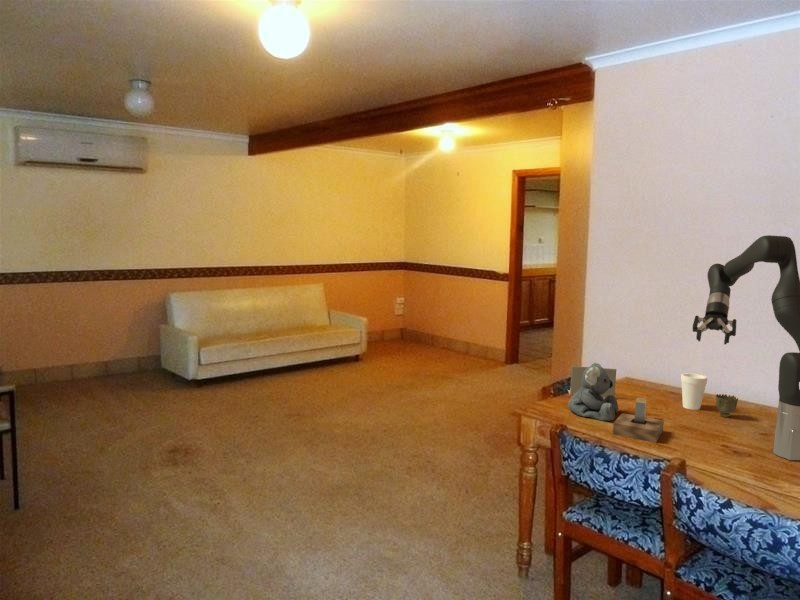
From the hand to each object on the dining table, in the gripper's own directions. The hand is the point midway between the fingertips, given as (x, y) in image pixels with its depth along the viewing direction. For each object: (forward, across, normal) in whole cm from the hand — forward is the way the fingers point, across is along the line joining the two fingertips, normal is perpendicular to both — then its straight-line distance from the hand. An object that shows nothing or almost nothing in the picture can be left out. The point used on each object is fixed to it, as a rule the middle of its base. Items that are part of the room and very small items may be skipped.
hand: (712, 341), depth 223 cm
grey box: (+10, -46, +34) cm, 58 cm away
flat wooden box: (+40, -18, +3) cm, 45 cm away
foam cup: (+7, -6, +36) cm, 38 cm away
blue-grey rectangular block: (+40, -18, +3) cm, 44 cm away
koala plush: (+31, -38, +12) cm, 51 cm away
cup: (+11, +6, +32) cm, 35 cm away
